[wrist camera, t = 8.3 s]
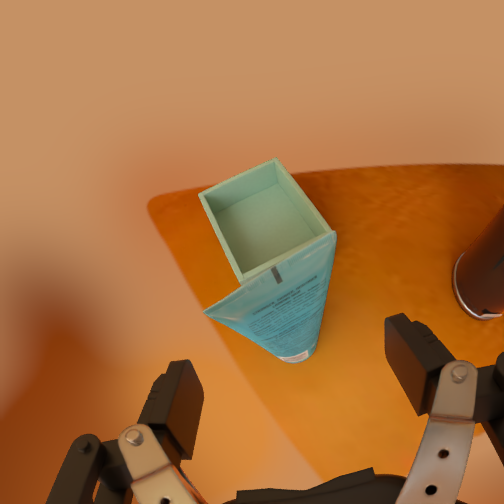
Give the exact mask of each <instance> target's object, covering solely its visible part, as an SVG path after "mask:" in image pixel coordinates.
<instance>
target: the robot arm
mask: <svg viewBox="0 0 504 504" xmlns="http://www.w3.org/2000/svg"><path fill="white" fill-rule="evenodd" d="M452 287H453V291H454V295H455V297H456V299H457V302H458V303H459V305H460V306H461V308H462V309H463V310H464V311H465V312H466V313H467V314H468V315H469V316H471V317H472V318H474V319H477V320H481V321H485V320H490V319H492V318H494V317H499V316H501V315H503V314H500V313H501V312H503V311H504V205H503V206H502V208H501V209H500V210H499V212H498V213H497V214H496V216H495V217H494V218H493V219H492V221H491V222H490V223H489V224H488V226H487V227H486V228H485V229H484V231H483V232H482V233H481V234H480V235H479V237H478V238H477V239H476V240H475V241H474V243H473V244H472V245H471V246H470V247H469V248H468V249H467V251H465V252H464V253H463V254H462V255H461V256H460V257H459V258H458V260H457V261H456V263H455V265H454V268H453V272H452ZM385 354H386V358H387V361H388V363H389V365H390V366H391V368H392V370H393V372H394V373H395V375H396V377H397V379H398V380H399V382H400V384H401V386H402V388H403V389H404V391H405V393H406V395H407V397H408V398H409V400H410V402H411V404H412V406H413V408H414V410H415V411H416V413H417V415H418V416H421V415H423V414H425V413H428V415H429V419H428V422H427V425H426V429H425V432H424V435H423V438H422V440H421V443H420V446H419V449H418V452H417V454H416V457H415V459H414V462H413V464H412V467H411V469H410V472H409V474H408V477H407V478H406V477H403V476H399V475H392V474H374V470H373V467H371V468H368V469H364V470H361V471H357V472H354V473H350V474H346V475H342V476H339V477H336V478H334V479H332V480H330V481H328V482H325V483H323V484H320V485H318V486H316V487H313V488H311V489H308V490H284V489H273V488H267V489H256V490H242V491H237V496H236V499H234V500H231V501H228V502H225V503H223V504H467V503H465V502H462V501H460V500H457V496H458V492H459V489H460V486H461V483H462V480H463V476H464V473H465V469H466V465H467V461H468V457H469V453H470V448H471V444H472V439H473V433H474V428H475V424H476V423H481V424H482V426H483V428H484V429H485V431H486V433H487V435H488V437H489V438H490V440H491V442H492V444H493V446H494V448H495V450H496V452H497V454H498V456H499V458H500V460H501V462H502V464H503V466H504V352H502V353H501V354H500V355H499V356H498V358H497V361H496V364H495V365H490V366H486V367H481V368H476V367H475V366H474V365H473V364H472V363H470V362H468V361H464V360H456V359H455V358H454V356H453V355H452V354H451V353H450V352H449V351H448V349H447V348H446V347H445V346H444V345H443V344H442V342H441V341H440V340H438V338H437V337H436V336H435V334H433V332H432V331H431V330H430V329H429V328H428V327H427V325H424V324H422V323H420V322H418V321H414V322H411V321H410V320H409V319H408V318H407V316H406V315H405V314H404V313H400V314H397V315H394V316H390V317H387V318H385ZM150 391H151V393H149V395H148V400H146V403H145V405H144V407H143V410H142V412H141V414H140V417H139V419H138V422H137V424H135V425H131V426H129V427H127V428H126V429H124V430H123V431H122V432H121V434H120V435H119V438H118V439H115V440H110V441H106V442H101V441H100V440H99V439H98V438H97V436H95V435H93V434H84V435H82V436H80V437H78V438H77V439H76V440H75V441H74V442H73V443H72V445H71V447H70V449H69V451H68V453H67V455H66V458H65V460H64V462H63V464H62V466H61V469H60V471H59V473H58V475H57V478H56V480H55V483H54V485H53V487H52V489H51V492H50V494H49V497H48V499H47V501H46V504H131V502H132V498H133V494H134V495H135V497H136V499H137V501H138V503H139V504H208V503H207V502H206V501H205V499H204V498H203V497H202V496H201V494H200V493H199V492H198V491H197V489H196V488H195V486H194V485H193V484H192V482H191V481H190V480H189V478H188V477H187V476H186V474H185V473H184V471H183V470H182V468H181V467H180V463H181V460H191V459H192V455H193V450H194V445H195V440H196V435H197V430H198V425H199V420H200V416H201V411H202V406H203V401H204V392H203V388H202V385H201V383H200V381H199V379H198V376H197V374H196V372H195V370H194V368H193V365H192V363H191V361H190V360H188V359H187V360H180V361H171V362H170V364H169V366H168V369H167V372H166V374H161V375H160V376H159V377H158V378H157V380H156V381H155V382H154V383H153V386H152V388H151V390H150ZM97 480H98V481H99V482H100V486H99V489H98V491H97V495H96V498H95V501H94V502H93V499H92V496H93V492H94V489H95V486H96V483H97Z"/></svg>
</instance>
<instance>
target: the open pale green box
mask: <svg viewBox="0 0 504 504" xmlns="http://www.w3.org/2000/svg"><path fill="white" fill-rule="evenodd" d="M198 196H199V198H200V200H201V203H202V205H203V207H204V209H205V211H206V213H207V216H208V218H209V220H210V222H211V224H212V226H213V228H214V231H215V233H216V235H217V237H218V239H219V241H220V243H221V245H222V247H223V250H224V252H225V254H226V256H227V258H228V260H229V262H230V264H231V266H232V268H233V271H234V273H235V275H236V277H237V279H238V281H239V283H240V284H241V286H242V285H244V284H245V283H247V282H248V281H250V280H252V279H253V278H255V277H256V276H258V275H260V274H261V273H263V272H264V271H266V270H268V269H269V268H271V267H273V266H275V265H276V264H278V263H279V262H281V261H283V260H284V259H286V258H288V257H289V256H291V255H292V254H294V253H296V252H297V251H299V250H301V249H302V248H304V247H306V246H307V245H309V244H311V243H312V242H314V241H316V240H317V239H319V238H321V237H323V236H324V235H326V234H328V233H329V232H331V231H332V229H331V228H330V227H329V225H328V224H327V222H326V221H325V220H324V218H323V217H322V216H321V214H320V213H319V211H318V210H317V209H316V207H315V206H314V205H313V203H312V202H311V201H310V199H309V198H308V197H307V195H306V194H305V193H304V192H303V190H302V189H301V188H300V186H299V185H298V184H297V182H296V181H295V180H294V179H293V177H292V176H291V175H290V173H289V172H288V171H287V170H286V168H285V167H284V166H283V165H282V164H281V162H280V161H279V160H278V158H277V157H275V158H273V159H271V160H268V161H266V162H264V163H262V164H260V165H257V166H255V167H253V168H251V169H249V170H247V171H244V172H242V173H240V174H238V175H236V176H234V177H232V178H229V179H227V180H225V181H223V182H221V183H219V184H217V185H215V186H213V187H211V188H209V189H207V190H205V191H203V192H201V193H199V194H198Z"/></svg>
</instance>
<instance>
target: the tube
mask: <svg viewBox="0 0 504 504" xmlns="http://www.w3.org/2000/svg"><path fill="white" fill-rule="evenodd" d="M336 243H337V235H336V231H335V230H333V231H331V232H329V233H328V234H326V235H324V236H323V237H321V238H319V239H317V240H316V241H314V242H312V243H311V244H309V245H307V246H306V247H304V248H302V249H301V250H299V251H297V252H296V253H294V254H292V255H291V256H289V257H288V258H286V259H284V260H283V261H281V262H279V263H278V264H276V265H275V266H273V267H271V268H269V269H268V270H266V271H264V272H263V273H261V274H260V275H258V276H256V277H255V278H253V279H252V280H250V281H248V282H247V283H245V284H244V285H242V286H241V287H239V288H238V289H236V290H235V291H233V292H232V293H230V294H229V295H228V296H226V297H225V298H224V299H222V300H220V301H219V302H217V303H215V304H214V305H212V306H210V307H209V308H207V309H205V310H203V313H204V314H206V315H207V316H208V317H210V318H212V319H214V320H216V321H218V322H220V323H222V324H224V325H226V326H228V327H230V328H231V329H233V330H235V331H237V332H238V333H240V334H242V335H244V336H245V337H247V338H249V339H250V340H252V341H253V342H255V343H257V344H258V345H260V346H261V347H263V348H264V349H266V350H267V351H269V352H270V353H272V354H273V355H275V356H276V357H278V358H279V359H281V360H283V361H285V362H288V363H299V362H303V361H305V360H306V359H308V358H309V357H310V356H311V355H312V354H313V352H314V351H315V349H316V345H317V341H318V336H319V331H320V326H321V321H322V316H323V311H324V306H325V302H326V297H327V291H328V286H329V281H330V277H331V272H332V267H333V261H334V255H335V249H336Z"/></svg>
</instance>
